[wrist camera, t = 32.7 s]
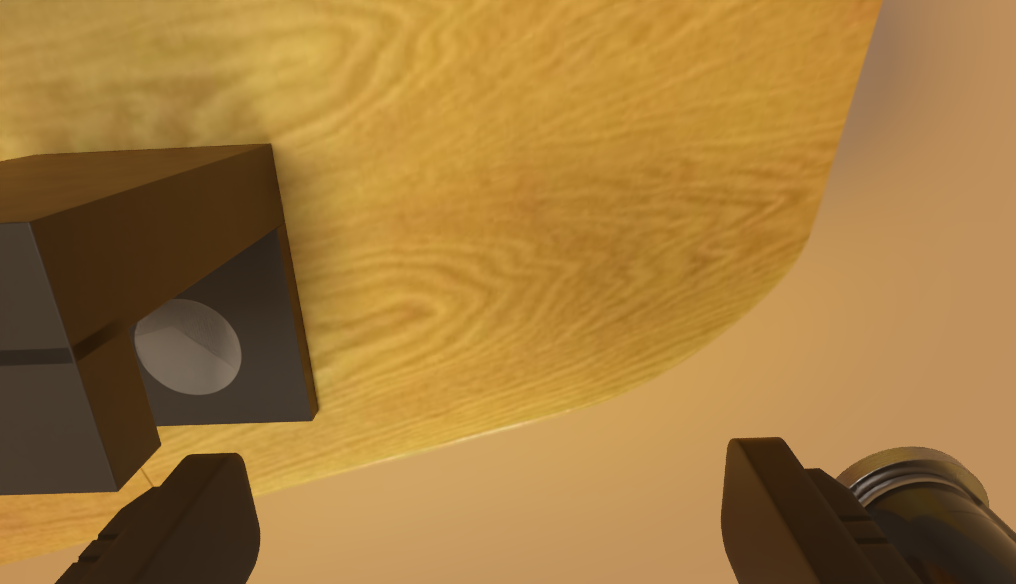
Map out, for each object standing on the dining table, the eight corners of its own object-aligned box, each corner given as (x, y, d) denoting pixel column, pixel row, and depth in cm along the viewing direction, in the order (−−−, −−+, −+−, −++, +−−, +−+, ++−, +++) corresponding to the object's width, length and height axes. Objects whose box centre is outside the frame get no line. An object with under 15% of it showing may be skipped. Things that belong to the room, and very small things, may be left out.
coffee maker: (318, 410, 45) (173, 662, 26) (117, 416, 45) (-170, 669, 26) (271, 143, 38) (29, 221, 19) (34, 154, 38) (-427, 242, 20)
